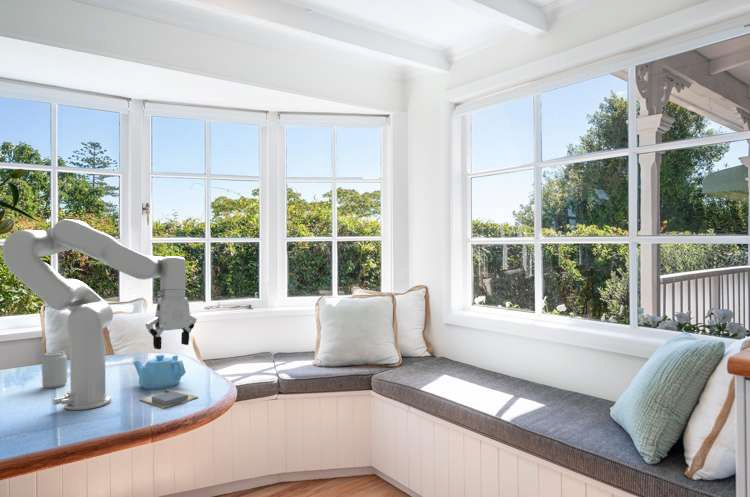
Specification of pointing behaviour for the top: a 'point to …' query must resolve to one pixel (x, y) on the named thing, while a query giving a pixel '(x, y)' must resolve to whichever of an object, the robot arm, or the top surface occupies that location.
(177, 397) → the tile
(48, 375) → the can
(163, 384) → the teapot
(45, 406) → the top surface
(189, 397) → the wooden ridged plate
